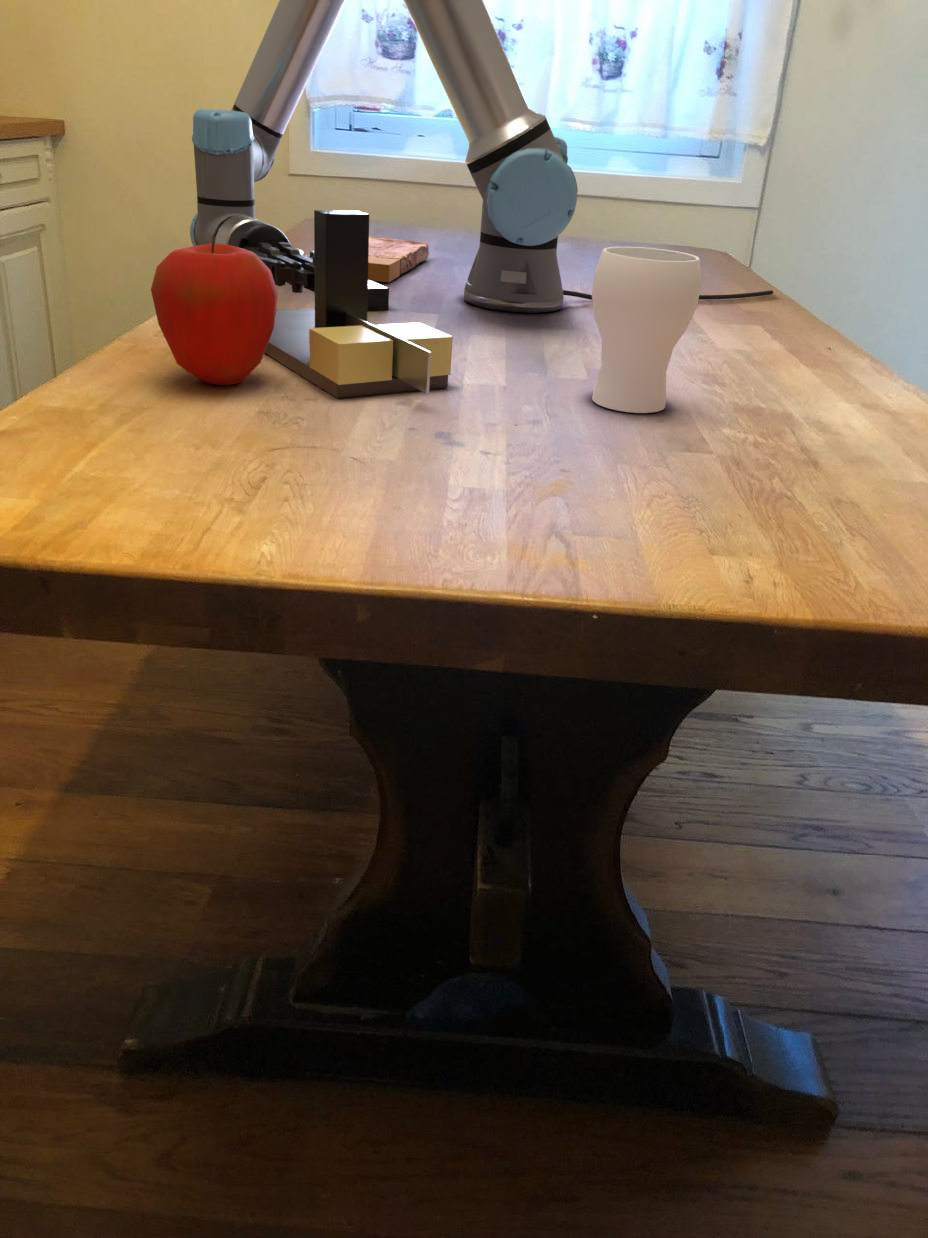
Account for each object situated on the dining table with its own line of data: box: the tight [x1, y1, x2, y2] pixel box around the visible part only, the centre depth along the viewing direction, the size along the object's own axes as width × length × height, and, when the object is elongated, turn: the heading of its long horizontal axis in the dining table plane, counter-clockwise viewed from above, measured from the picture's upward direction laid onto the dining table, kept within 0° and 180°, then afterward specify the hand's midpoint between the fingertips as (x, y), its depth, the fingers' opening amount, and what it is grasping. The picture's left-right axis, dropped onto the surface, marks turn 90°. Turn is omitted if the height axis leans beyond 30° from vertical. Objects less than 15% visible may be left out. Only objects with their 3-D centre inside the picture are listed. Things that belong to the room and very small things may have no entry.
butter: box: [309, 321, 454, 385], centre depth 99 cm, size 7×13×4 cm, turn 122°
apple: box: [150, 235, 279, 386], centre depth 94 cm, size 12×12×14 cm
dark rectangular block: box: [367, 280, 390, 312], centre depth 136 cm, size 8×6×3 cm
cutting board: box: [264, 308, 449, 399], centre depth 110 cm, size 34×13×2 cm, turn 32°
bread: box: [368, 235, 430, 283], centre depth 166 cm, size 13×30×3 cm, turn 169°
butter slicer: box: [313, 209, 431, 394], centre depth 97 cm, size 21×5×14 cm, turn 32°
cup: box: [591, 245, 702, 414], centre depth 97 cm, size 11×11×15 cm
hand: (333, 285), depth 105 cm, fingers closed
